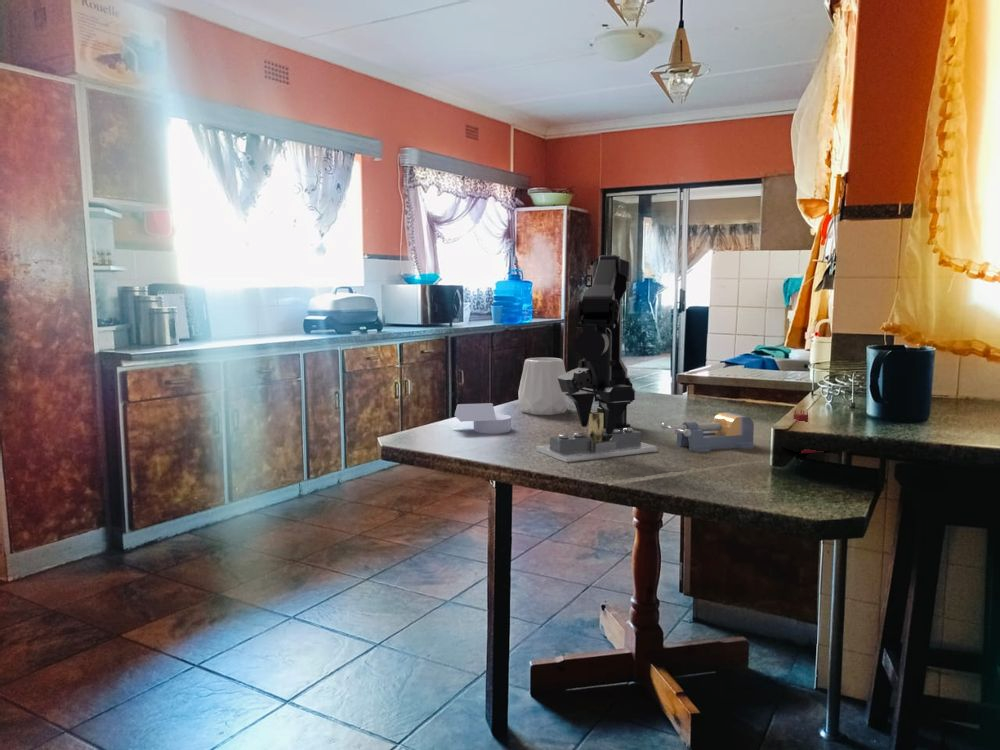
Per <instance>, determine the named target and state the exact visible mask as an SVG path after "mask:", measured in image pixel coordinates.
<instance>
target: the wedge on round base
mask: <svg viewBox="0 0 1000 750" xmlns="http://www.w3.org/2000/svg"><path fill="white" fill-rule="evenodd" d="M454 417H455V418H456V419H457V420H458V421H459V422H473V431H474V432H476V433H481V434H504V433H508V432H511V431H512V416H511V415H509V414H502V413H495V407H494V404H493V403H491V402H487V403H486V402H483V403H459V404H457V405H456V409H455V411H454Z"/></svg>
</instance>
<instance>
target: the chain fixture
mask: <svg viewBox="0 0 1000 750" xmlns="http://www.w3.org/2000/svg"><path fill="white" fill-rule="evenodd" d="M657 449H658V448H657V446H655V445H652V444H649V443H645V442H642V431H639V430H635V429H633V428H632V427H622V429H618V428H615V429H614V431H613V432H612V434H607V433H606V430H605V431H603V441H602V442H593V448H592V437H589V435H585V434H584V433H583V432H573V433H572V434H566V433H561V434H558V435H557V436H549V444H543V445H535V451H536V452H538V453H541V454H543V455H545V456H548V457H551V458H554V459H557V460H559V461H562V462H564V463H572V462H581V461H582V462H583V461H587V460H588V461H589V460H599V459H606V458H607V459H608V458H613V457H614V458H615V457H622V456H630V455H638V454H647V453H655V452H657V451H658V450H657Z"/></svg>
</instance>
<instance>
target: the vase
mask: <svg viewBox="0 0 1000 750" xmlns="http://www.w3.org/2000/svg"><path fill="white" fill-rule="evenodd" d="M565 373H567V371H566V367H565V362H564V360H563V359H562V358H559V357H558V358H557V357H529V358H526V359H525V360H524V363H523V369H522V373H521V378H520V382H519V387H518V392H517V393H518V404H519V409H521V410H520V411H521V413H522V412H523V413H526V414H531V415H539V416H540V415H541V416H553V415H558V414H565V412H567V410H568V407H569V401H570V398H569V397H568V396H566V395H565V393H568V392H562V391H561V388H560V385H559V382H558V378H557V377H559V376H561V375H563V374H565Z"/></svg>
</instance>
